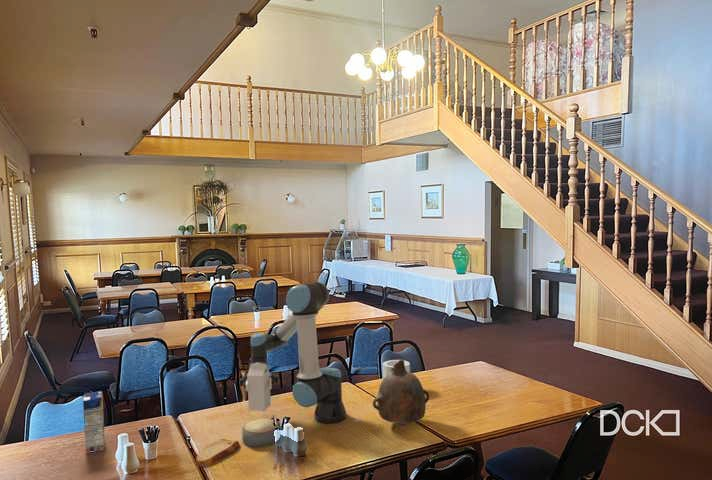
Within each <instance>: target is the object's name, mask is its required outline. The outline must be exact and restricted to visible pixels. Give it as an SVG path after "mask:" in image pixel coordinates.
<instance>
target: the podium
mask: <svg viewBox="0 0 712 480" xmlns="http://www.w3.org/2000/svg"><path fill="white" fill-rule="evenodd" d="M272 420H273V419H272V418H260V419H254V420H252V421H249V422H247V423H245V424H244V425H243V426H242V430H241V431H242V432H241V433H242V435H241V436H242V444H243V445H245V446H247V447H249V448H264V447H269V446H272V445H275V444H276V443H275V436H274V431H275V428H276V427H277V426H278V428H280V429H281V423H280V422H279V421H278V420H276V421H275V422H276V426H274V425H273V421H272Z"/></svg>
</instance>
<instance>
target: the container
mask: <svg viewBox="0 0 712 480" xmlns="http://www.w3.org/2000/svg"><path fill="white" fill-rule="evenodd" d="M399 360H400V359H392V360H391V359H390V360H386V361H384V362H382V380H383V379H384V377H385V376H386V375H387V374H389V373H391V369H392V368H394V364H395V363H397V362H398V361H399ZM404 365H405V369H406V371H409V372H411V364H410V362H409V361H407V360H404Z"/></svg>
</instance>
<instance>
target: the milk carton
mask: <svg viewBox="0 0 712 480" xmlns="http://www.w3.org/2000/svg"><path fill="white" fill-rule="evenodd" d="M269 374H270V370H269V369H267V367H266V364H252V363H249V369H248V371H247V380H248V391H247V396H248V401H247V402H248V411H254V412H255V411H257V412H258V411H259V412H260V411H261V412H262V411H263V412H264V411H266V410H267V409H268V408H269V407H270V406H271V404H272V403H271V402H272V401H271V389H270V380H269Z"/></svg>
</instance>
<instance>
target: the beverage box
mask: <svg viewBox="0 0 712 480" xmlns="http://www.w3.org/2000/svg"><path fill="white" fill-rule="evenodd" d="M103 398H104V397H103V390H100V391H94V392H87V393H84V394H83V400H82V402H83V407H82V408H83V422H84V442H85V453H86V452H90V451H95V450H100V449H104V446H105V442H106V441H105V440H106V439H105V438H106V437H105V419H104V418H105V417H104V400H103ZM104 450H105V449H104Z"/></svg>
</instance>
